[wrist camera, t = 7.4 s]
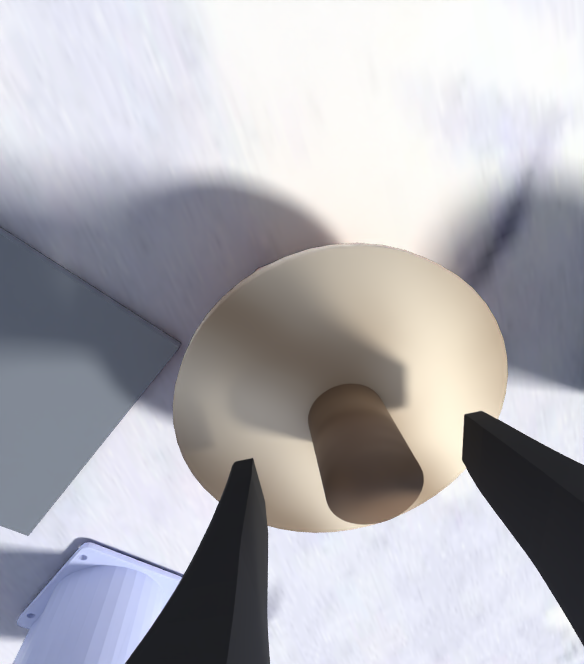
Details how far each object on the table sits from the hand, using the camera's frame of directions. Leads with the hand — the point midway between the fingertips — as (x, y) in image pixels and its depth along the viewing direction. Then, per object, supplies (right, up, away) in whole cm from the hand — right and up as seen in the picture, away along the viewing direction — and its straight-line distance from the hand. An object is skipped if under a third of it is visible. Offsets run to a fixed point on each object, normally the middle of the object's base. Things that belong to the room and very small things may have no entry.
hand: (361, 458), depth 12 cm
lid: (0, +1, +3) cm, 3 cm away
